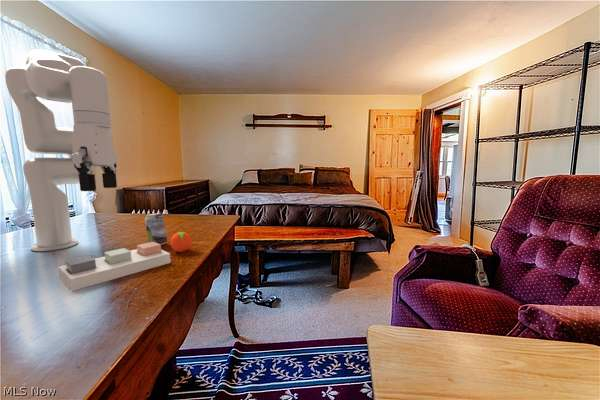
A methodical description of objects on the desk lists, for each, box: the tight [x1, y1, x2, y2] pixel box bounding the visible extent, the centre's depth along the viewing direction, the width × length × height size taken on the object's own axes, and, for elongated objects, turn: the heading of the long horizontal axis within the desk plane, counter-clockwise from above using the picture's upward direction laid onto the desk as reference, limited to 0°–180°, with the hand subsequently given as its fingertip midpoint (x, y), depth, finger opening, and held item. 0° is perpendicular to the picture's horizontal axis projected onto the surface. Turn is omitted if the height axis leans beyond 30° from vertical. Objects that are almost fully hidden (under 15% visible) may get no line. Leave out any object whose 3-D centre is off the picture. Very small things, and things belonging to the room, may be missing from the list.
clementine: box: [170, 231, 193, 253], centre depth 94 cm, size 8×7×7 cm
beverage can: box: [144, 212, 168, 246], centre depth 100 cm, size 6×7×12 cm
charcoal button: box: [65, 255, 96, 275], centre depth 71 cm, size 5×5×3 cm
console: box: [57, 248, 171, 292], centre depth 78 cm, size 12×24×3 cm, turn 142°
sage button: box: [103, 247, 131, 265], centre depth 78 cm, size 5×5×3 cm
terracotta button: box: [136, 241, 162, 256], centre depth 85 cm, size 5×5×3 cm
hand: (100, 189), depth 70 cm, fingers open, 9 cm apart
